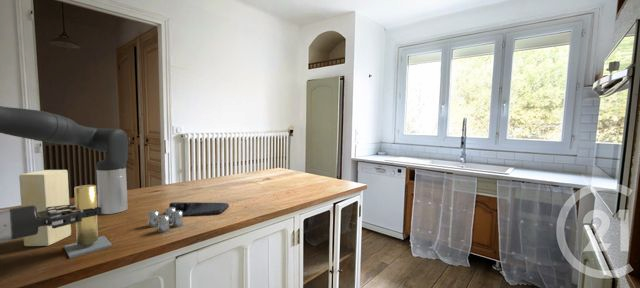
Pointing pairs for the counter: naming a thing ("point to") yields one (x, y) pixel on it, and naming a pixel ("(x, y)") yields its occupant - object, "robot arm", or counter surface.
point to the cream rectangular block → (45, 202)
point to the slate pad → (87, 247)
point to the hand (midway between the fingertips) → (98, 208)
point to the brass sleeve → (88, 225)
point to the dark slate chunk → (199, 208)
